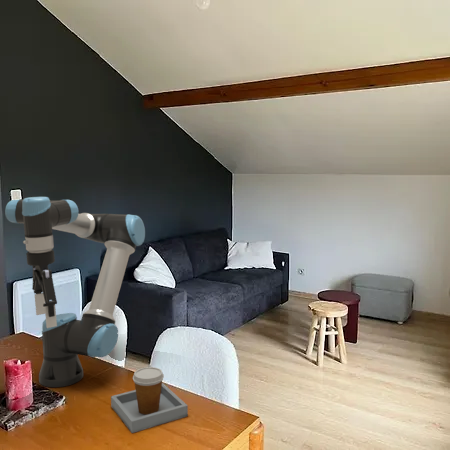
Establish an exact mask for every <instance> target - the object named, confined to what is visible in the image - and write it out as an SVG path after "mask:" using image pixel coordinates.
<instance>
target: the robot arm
mask: <svg viewBox="0 0 450 450" xmlns="http://www.w3.org/2000/svg"><path fill="white" fill-rule="evenodd" d="M78 207H79V206H78V205H77V204H76V202H75V201H73V200H70V199H60V200H50V197H48V196H32V197H31V196H30V197H25V198H23V199H20V198H19V199H12V200H10V201H8V202H7V204H6V206H5V210H4V212H5V213H4V214H5V218H6V219H7V221H9V222H10V223H13V224H17V225H18V224H23V229H24V238H25V240H23V241H22V243H23V244H24V245H25V250H26V251H27V252H26V263H27V265H29V266H32V291H33V293H34V304H35V315H36V316H40V315H44V316H45V319H44V320H43V322H42V324H41V325H42V328H41V329H42V330H41V334H42V336H41V337H42V352H43V353H42V355H43V360H42V364H41V367H40V371H39V374H38V383H39V384H40V385H41V386H44V387H46V388H47V387H48V388H63V387H68V386H70V385H74V384H76V383H78V382H80V381H81V380H82V379H83V378H84V369H83V367H82V363H81V360H80V358H79V356H87V357H91V358H105V357H107V356H108V355H109V354H110V353H111V352H113V350H114V348H116V345H117V342H118V340H119V339H118V338H119V334H118V333H119V328H118V326H117V325H116V324H115V323H116V318H114V316H113V315H114V313H115V309H116V305H117V302H118V298H119V293H120V290H121V287H122V284H123V280H124V276H125V274H126V273H125V272H126V269H127V265H128V261H129V258H130V255H132V254H134V253H135V251H136V248H137V247H140V246H141V245H143V243H144V242H145V238H146V228H145V224H144V221H143V220H142V218H141V217H140V216H139V215H137V214H130V213H129V214H117V213H115V214H114V213H88V212H82V213H79V208H78ZM53 230H55V231H56V230H57V231H60V232H65V233H70V234H75V236H77V237H79V238H81V239H85V240H89V241H93V242H96V243H100V244H104V246H105V248H106V252H105V255H104V258H103V262H102V265H101V268H100V272H99V275H98V279H97V282H96V284H95V289H94V291H93V295H92V297H91V302H90V305H89V308H88V310H86V311H85V312H83V313H82V316H81V318H80V319H78V317H77V314H76V313H73V312H69V313H68V312H65V313H60V314H57V312H56V305H57V304H58V301H57V296H56V291H55V286H54V284H55V283H54V281H53V273H52V269H49V266H48V265H51V264H53V263H55V261H56V260H55V257H56V256H55V251H54V235H53ZM78 355H79V356H78Z"/></svg>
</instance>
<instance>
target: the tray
mask: <svg viewBox="0 0 450 450" xmlns="http://www.w3.org/2000/svg"><path fill="white" fill-rule="evenodd" d="M110 404H111V405H110V407H111V408H112V409H113V411H114V413H116V415H117V416H118V417H119V419H120V420H121V422H123V424H124V425H125V427H126V428H127V429H128V430H129V431H130V433H131V434H134V433H137V432H141V431H145V430H146V429H147V430H148V429H150V428H154V427H157V426H160V425H163V424H166V423H170V422H174V421H177V420H179V419H182V418H186V417H188V415H189V414H188V413H189V412H188V410H189V408H188V407H189V405H188V404H187V403H185V402H184V400H183V399H181V398H180V397H179V396H178V395H177V394H176V393H175V392H173V391H172V389H170V388H169V387H168V386H166V385H165V383H163V382H162V387H161V395H160V403H159V410H158V411H157V412H155V413H152V414H148V415H146V414H141V413H140V412H139V410H138V403H137V396H136V389H134V390H129V391H125V392H123V393H119V394H115V395H111V396H110Z"/></svg>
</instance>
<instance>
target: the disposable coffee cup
mask: <svg viewBox="0 0 450 450" xmlns="http://www.w3.org/2000/svg"><path fill="white" fill-rule="evenodd" d="M164 376H165V375H164V373H163V370H162V369H160V368H158V367H153V366H148V367H147V366H146V367H142V368H141V367H140V368H139V369H136V370H135V371H134V373H133V376H132V380H133V383H134V386H135V387H134V388H135V389H134V390H136V396H137V403H138V410H139V412H140V413H141V414H146V415H148V414H152V413H155V412H157V411H158V410H159V403H160V395H161V387H162V383H163V380H164Z"/></svg>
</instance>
